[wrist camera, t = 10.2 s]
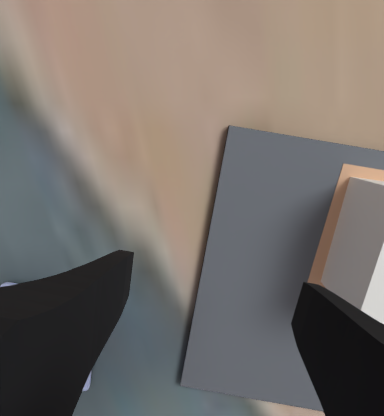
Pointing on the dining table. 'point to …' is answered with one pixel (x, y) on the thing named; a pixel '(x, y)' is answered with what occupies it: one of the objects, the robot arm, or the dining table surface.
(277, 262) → the mat
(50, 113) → the dining table surface
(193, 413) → the dining table surface
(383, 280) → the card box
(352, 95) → the dining table surface
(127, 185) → the dining table surface
